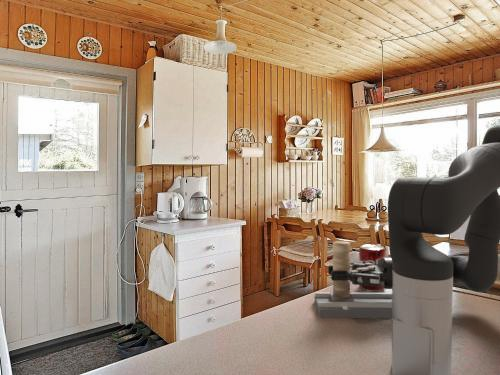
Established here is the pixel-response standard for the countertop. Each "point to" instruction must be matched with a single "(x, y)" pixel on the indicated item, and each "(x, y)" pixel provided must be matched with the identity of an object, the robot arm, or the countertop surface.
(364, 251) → the soda can
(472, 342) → the countertop surface
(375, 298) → the slider track
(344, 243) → the knob slider
